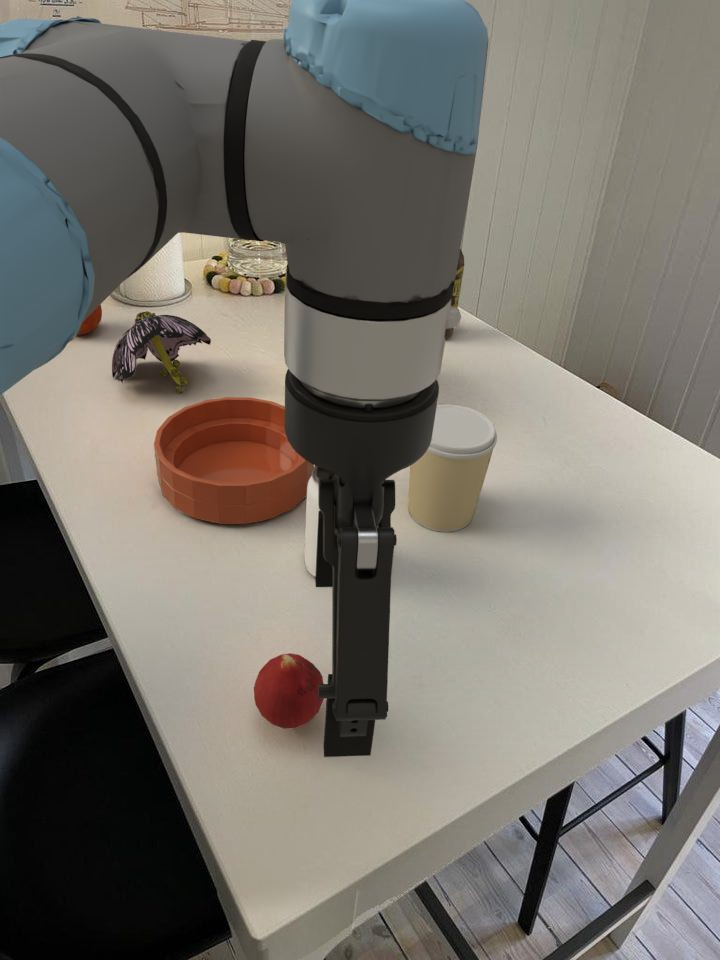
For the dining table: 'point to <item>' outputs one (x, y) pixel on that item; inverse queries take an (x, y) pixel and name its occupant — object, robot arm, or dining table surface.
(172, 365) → the purple butterfly
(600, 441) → the dining table surface
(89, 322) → the fruit
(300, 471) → the bowl
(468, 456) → the coffee cup
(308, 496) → the can
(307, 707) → the onion
